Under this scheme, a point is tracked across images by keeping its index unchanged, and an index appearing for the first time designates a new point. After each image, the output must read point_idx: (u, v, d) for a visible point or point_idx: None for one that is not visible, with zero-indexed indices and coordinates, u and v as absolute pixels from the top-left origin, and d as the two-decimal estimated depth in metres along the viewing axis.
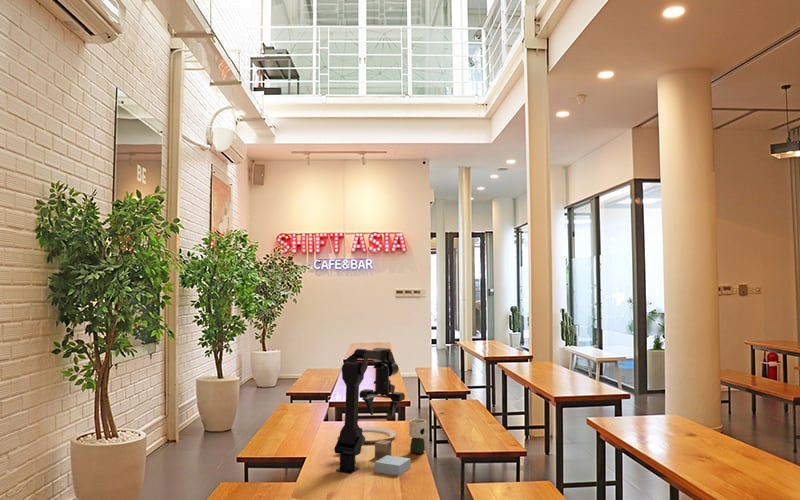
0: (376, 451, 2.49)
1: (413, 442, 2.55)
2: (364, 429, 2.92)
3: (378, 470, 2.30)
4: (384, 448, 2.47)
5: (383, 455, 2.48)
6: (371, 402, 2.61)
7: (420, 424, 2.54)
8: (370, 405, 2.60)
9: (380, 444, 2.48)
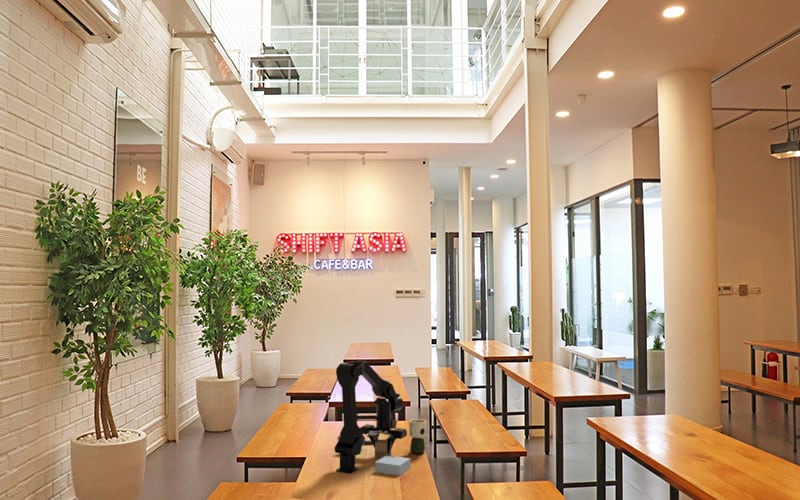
0: (376, 451, 2.49)
1: (413, 442, 2.55)
2: None
3: (378, 470, 2.30)
4: (384, 448, 2.47)
5: (383, 455, 2.48)
6: (376, 439, 2.52)
7: (420, 424, 2.54)
8: None
9: (380, 444, 2.48)
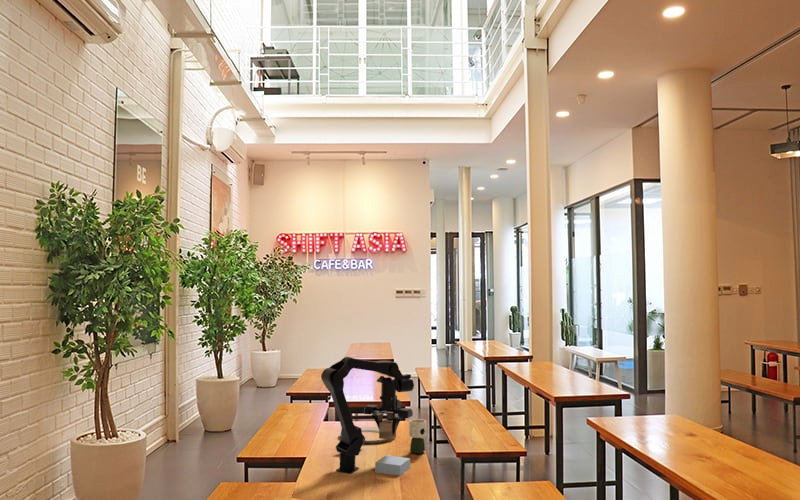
0: (381, 431, 2.41)
1: (413, 442, 2.55)
2: (364, 429, 2.92)
3: (378, 470, 2.30)
4: (389, 428, 2.40)
5: (388, 435, 2.40)
6: (381, 419, 2.44)
7: (420, 424, 2.54)
8: None
9: (385, 424, 2.40)
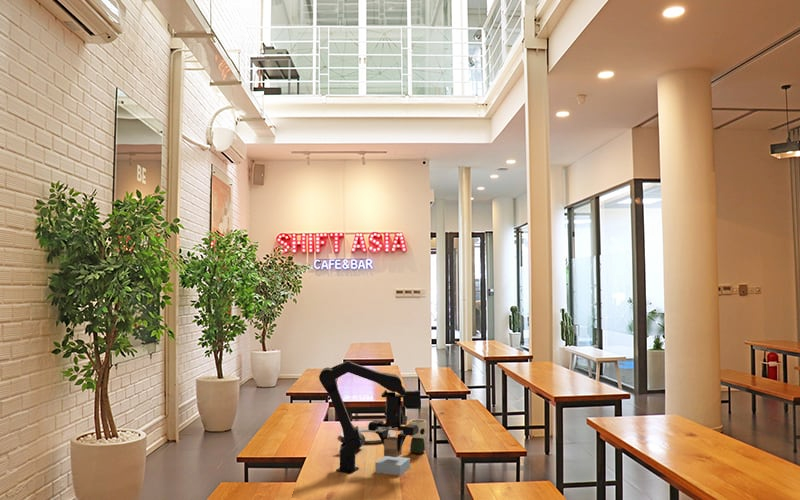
0: (385, 448, 2.32)
1: (413, 442, 2.55)
2: (364, 429, 2.92)
3: (378, 470, 2.30)
4: (394, 446, 2.30)
5: (393, 453, 2.31)
6: (386, 436, 2.35)
7: (420, 424, 2.54)
8: None
9: (390, 441, 2.31)
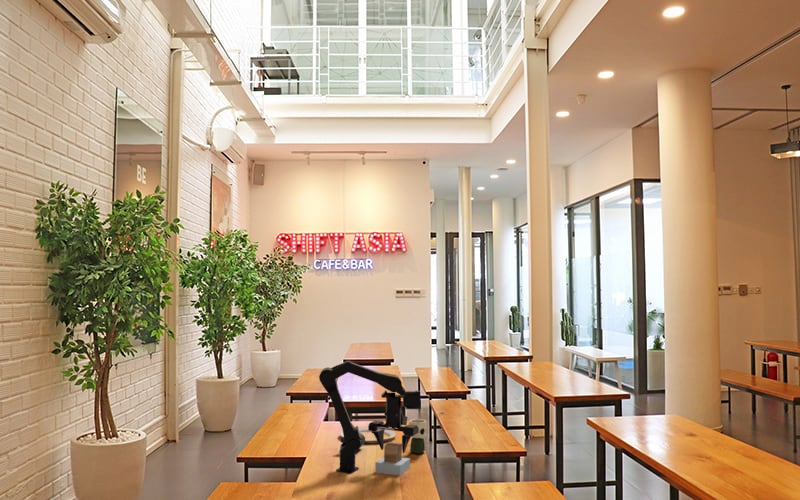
0: (386, 454, 2.32)
1: (413, 442, 2.55)
2: (364, 429, 2.92)
3: (379, 471, 2.30)
4: (395, 451, 2.31)
5: (393, 458, 2.31)
6: (381, 435, 2.36)
7: (420, 424, 2.54)
8: (380, 439, 2.35)
9: (390, 446, 2.31)
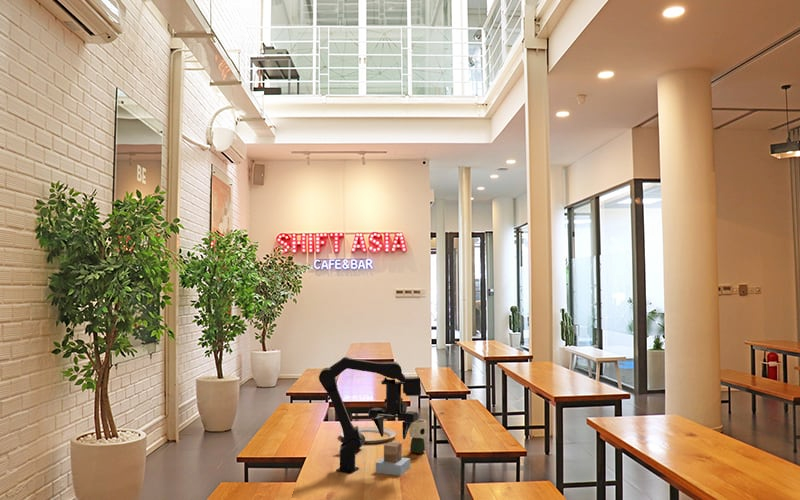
0: (385, 454, 2.32)
1: (413, 442, 2.55)
2: (364, 429, 2.92)
3: (379, 471, 2.30)
4: (394, 451, 2.30)
5: (393, 458, 2.31)
6: (381, 422, 2.36)
7: (420, 424, 2.54)
8: (380, 426, 2.35)
9: (390, 446, 2.31)
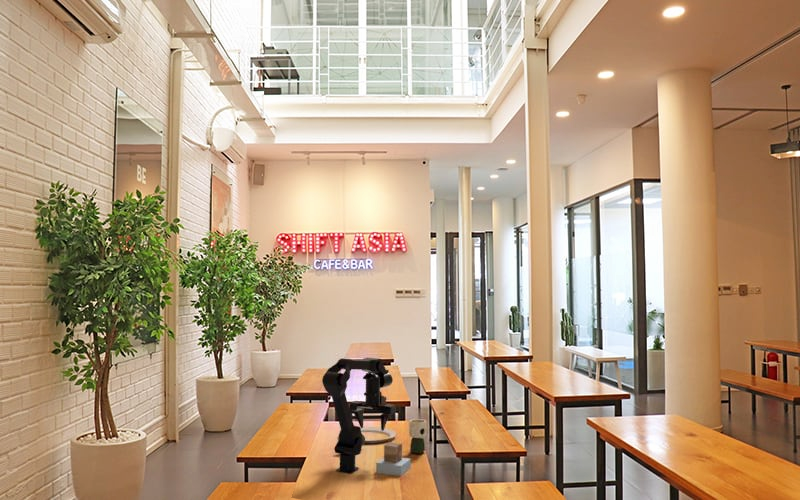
0: (385, 454, 2.32)
1: (413, 442, 2.55)
2: (364, 429, 2.92)
3: (379, 471, 2.29)
4: (394, 451, 2.30)
5: (393, 458, 2.30)
6: (361, 414, 2.49)
7: (420, 424, 2.54)
8: (360, 418, 2.48)
9: (390, 447, 2.31)
